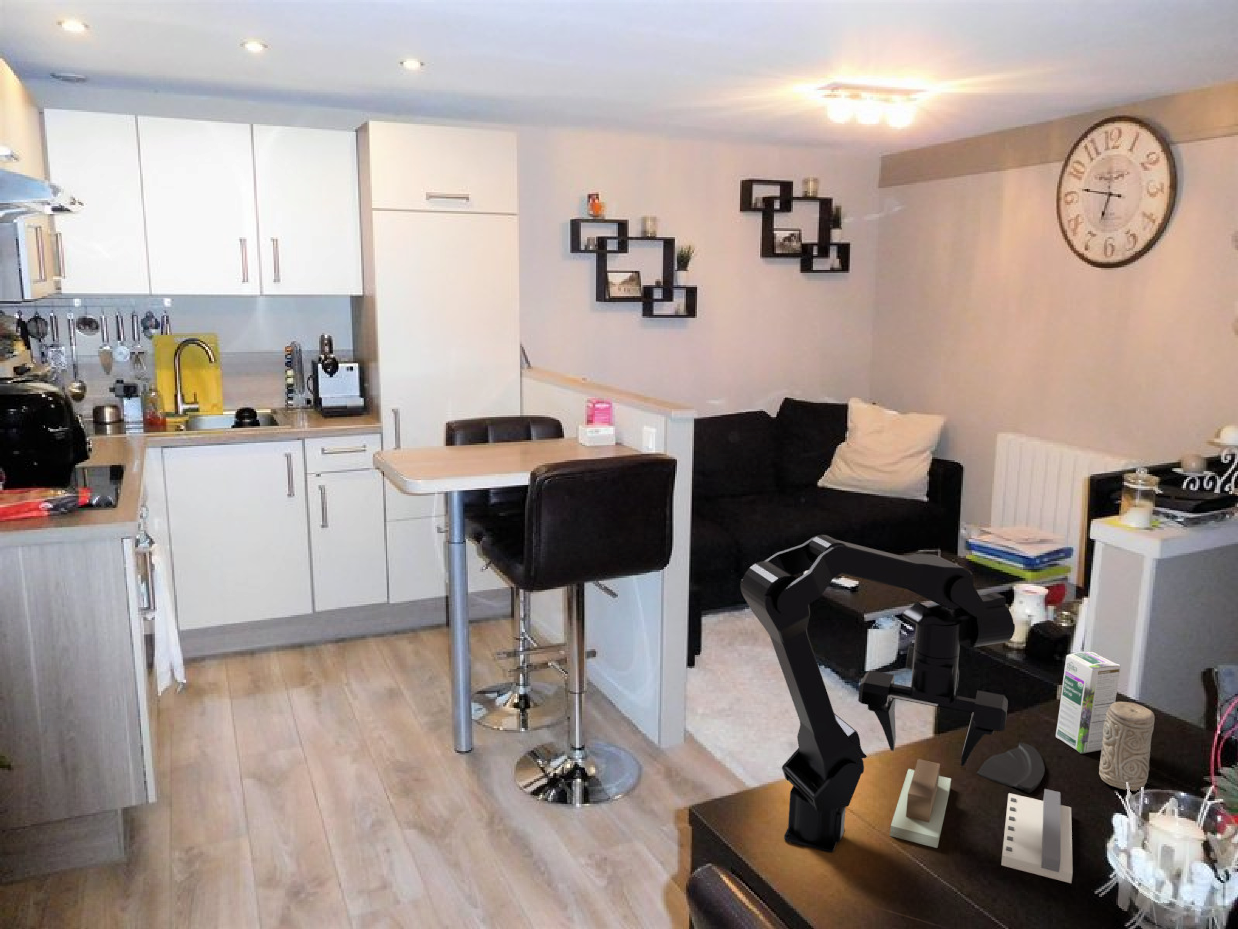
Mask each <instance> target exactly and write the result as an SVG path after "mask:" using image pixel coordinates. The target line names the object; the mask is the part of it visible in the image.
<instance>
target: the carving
mask: <svg viewBox="0 0 1238 929" xmlns="http://www.w3.org/2000/svg"><path fill="white" fill-rule="evenodd" d="M1154 727H1155V713H1154V712H1153V711H1152V710H1151V709H1149V708H1146V707H1145V706H1143V705H1141V704H1138V703H1136V702H1127V701H1115V703H1113V704H1111V706H1110V707H1109V708H1108V711H1107V712H1106V718H1105V722H1104V727H1103V741H1102V744H1103V746H1102V750H1100V751H1101V752H1100V759H1099V760H1100V761H1099V767H1098V768H1099V771H1098V774H1099V777H1100V778H1101V780H1102V781H1103V782H1104V783H1105V784H1108V785H1109V786H1112V787H1115V788H1118V789H1121V790H1125V791H1127V790H1126V782H1129V786H1130V789H1131V792H1132V791H1133V792H1138V791H1137V790H1139V788H1140V787H1144V788H1145V785H1146V784H1147V782H1148V778H1149V771H1150V757H1151V753H1150V752H1151V742H1152V737H1153V736H1152V735H1153V732H1154Z"/></svg>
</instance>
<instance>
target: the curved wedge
mask: <svg viewBox="0 0 1238 929" xmlns="http://www.w3.org/2000/svg"><path fill="white" fill-rule="evenodd" d="M1045 768H1046V767H1045V763H1044V760H1043V758H1042V756H1041V754H1040V753H1039V751H1038V749H1037V748H1035V747H1034V746H1033V745H1030V744H1027V743H1024V742H1021V741H1018V746H1017V747H1015V748H1012V749H1009V750H1007V751H1006V752H1003V753H998V754H994V755H992V756H989V758H988V759H986V760H985V761H984V762H983V764H982V765H981V766H980V768H979V769H978V771H977V772H976V774H977V775H978V776H980V777H982V778H984V779H987V780H989V781H991V780H992V782H994V781H995V783H997V784H1000V785H1004V786H1007V787H1009V788H1010V787H1011V788H1013V787H1015V788H1014V789H1018V790H1020V791H1023V792H1025V793H1026V794H1027V793H1028V794H1030V793H1032V792H1033V791H1034V790H1036V788H1038V786H1039V785H1040V784H1041V782H1042V780H1043V777H1044V775H1045V772H1046V771H1045Z"/></svg>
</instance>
